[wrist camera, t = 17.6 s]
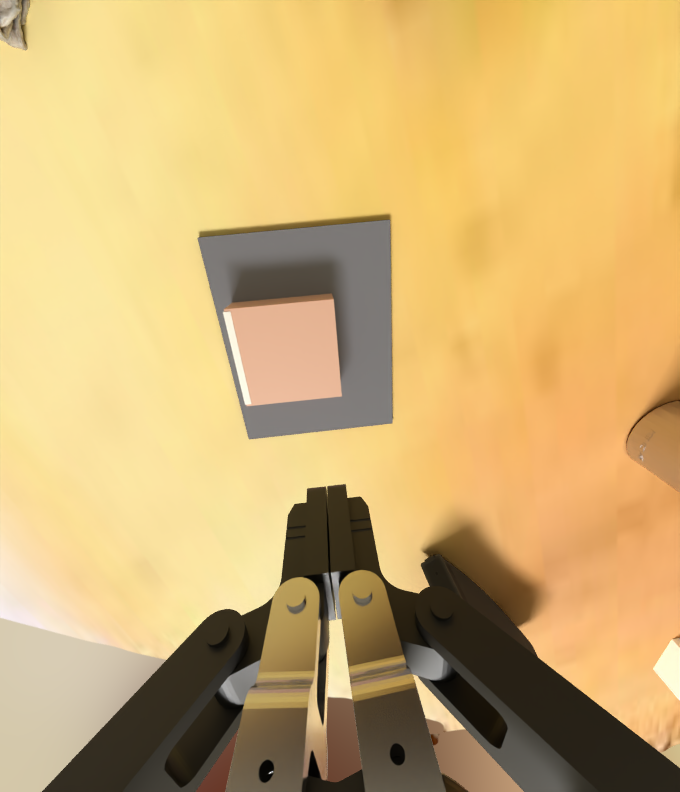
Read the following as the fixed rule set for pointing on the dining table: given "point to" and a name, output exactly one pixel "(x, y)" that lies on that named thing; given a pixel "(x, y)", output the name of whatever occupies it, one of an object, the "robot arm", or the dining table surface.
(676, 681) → the milk
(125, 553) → the dining table surface
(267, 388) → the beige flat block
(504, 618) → the magazine
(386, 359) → the mat
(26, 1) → the washcloth
